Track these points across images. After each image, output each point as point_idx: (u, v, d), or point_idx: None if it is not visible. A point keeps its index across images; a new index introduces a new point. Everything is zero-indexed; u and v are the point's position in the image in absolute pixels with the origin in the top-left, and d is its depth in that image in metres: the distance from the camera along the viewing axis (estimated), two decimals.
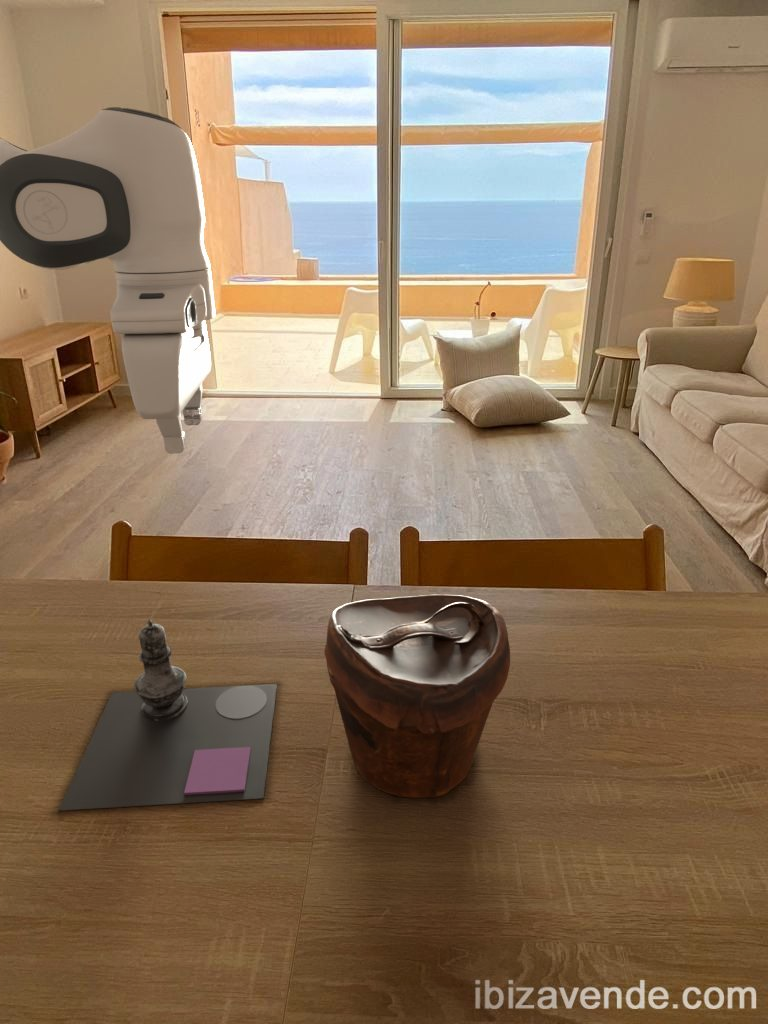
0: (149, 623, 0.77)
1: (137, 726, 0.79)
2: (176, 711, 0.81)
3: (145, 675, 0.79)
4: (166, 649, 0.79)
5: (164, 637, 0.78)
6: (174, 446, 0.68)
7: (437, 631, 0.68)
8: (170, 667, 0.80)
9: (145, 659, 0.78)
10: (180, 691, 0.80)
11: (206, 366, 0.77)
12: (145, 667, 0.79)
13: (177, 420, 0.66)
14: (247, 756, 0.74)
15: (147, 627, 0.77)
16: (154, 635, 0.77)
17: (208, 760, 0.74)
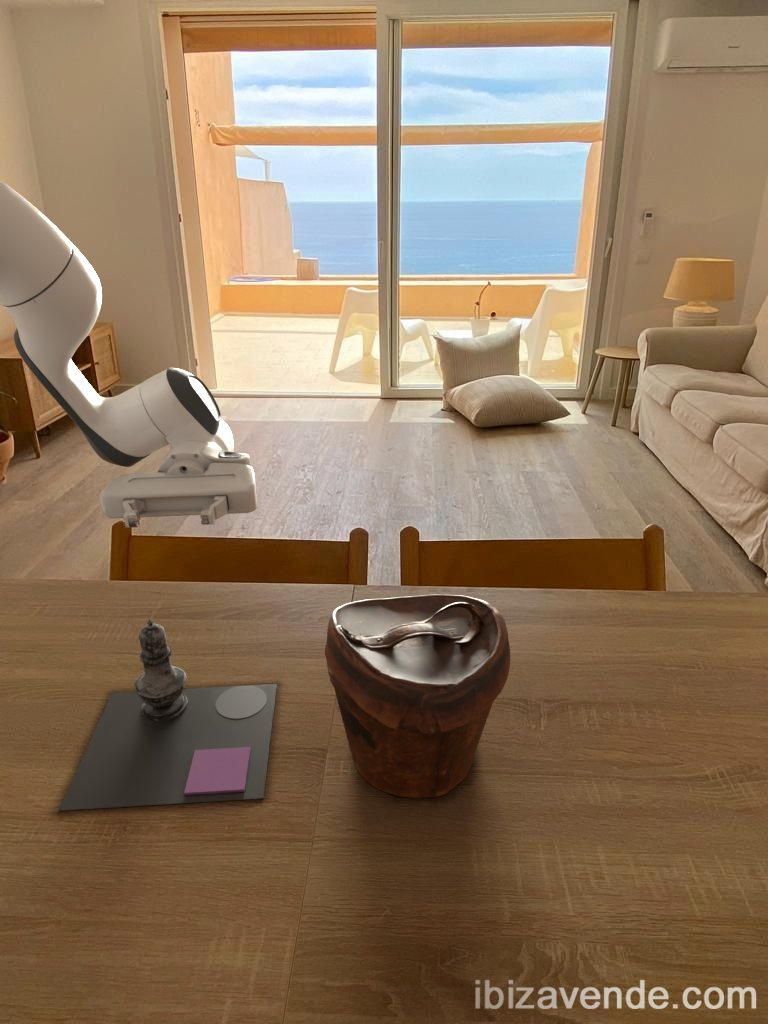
0: (149, 623, 0.77)
1: (137, 726, 0.79)
2: (176, 711, 0.81)
3: (145, 675, 0.79)
4: (166, 649, 0.79)
5: (164, 637, 0.78)
6: (213, 516, 0.87)
7: (438, 631, 0.68)
8: (170, 667, 0.80)
9: (145, 659, 0.78)
10: (180, 691, 0.80)
11: None
12: (145, 667, 0.79)
13: (226, 512, 0.90)
14: (247, 756, 0.74)
15: (147, 627, 0.77)
16: (154, 635, 0.77)
17: (208, 760, 0.74)
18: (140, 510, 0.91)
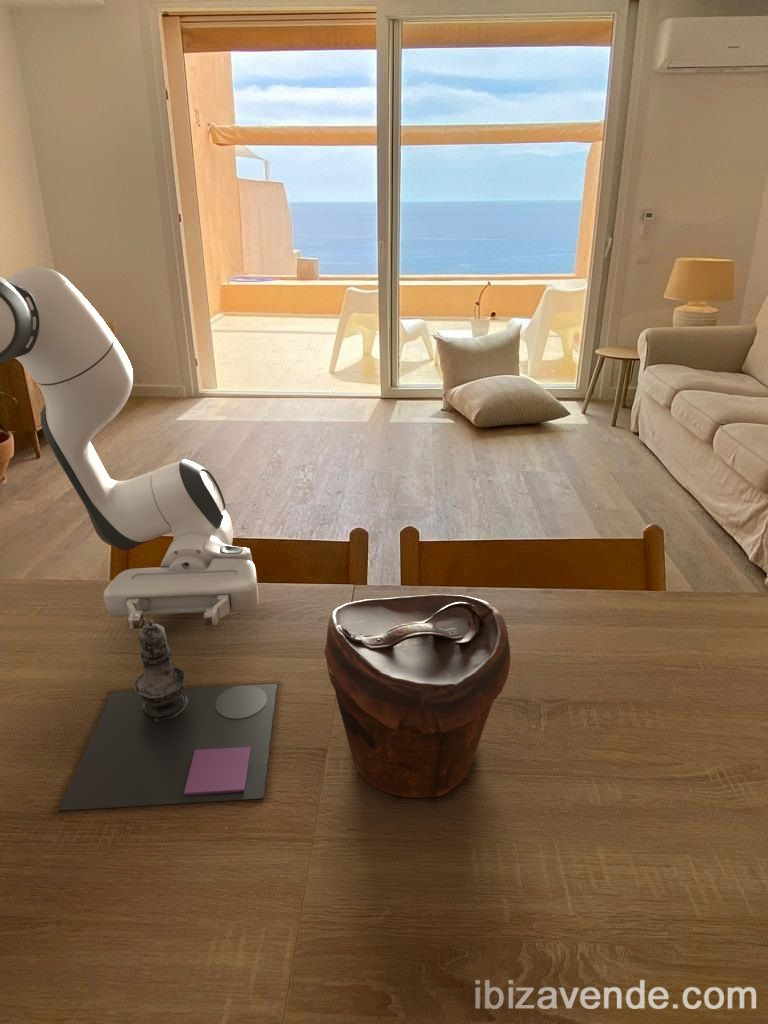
0: (149, 623, 0.77)
1: (137, 726, 0.79)
2: (176, 711, 0.81)
3: (145, 675, 0.79)
4: (166, 649, 0.79)
5: (164, 637, 0.78)
6: (216, 617, 0.89)
7: (438, 631, 0.68)
8: (170, 667, 0.80)
9: (145, 659, 0.78)
10: (180, 691, 0.80)
11: None
12: (145, 667, 0.79)
13: (229, 611, 0.92)
14: (247, 756, 0.74)
15: (147, 627, 0.77)
16: (154, 635, 0.77)
17: (208, 760, 0.74)
18: (143, 608, 0.92)
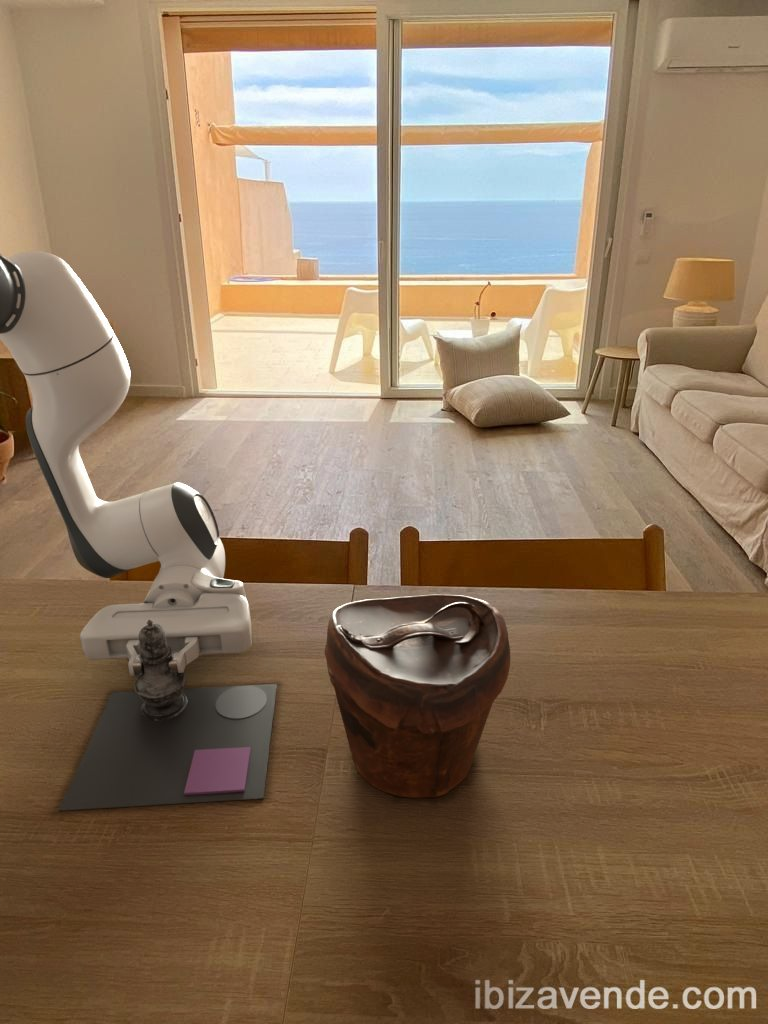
0: (149, 623, 0.77)
1: (137, 726, 0.79)
2: (176, 711, 0.81)
3: (145, 675, 0.79)
4: (166, 649, 0.79)
5: (164, 637, 0.78)
6: (183, 664, 0.80)
7: (438, 631, 0.68)
8: None
9: (145, 659, 0.78)
10: (180, 691, 0.80)
11: None
12: (145, 667, 0.79)
13: (198, 655, 0.83)
14: (247, 756, 0.74)
15: (147, 627, 0.77)
16: (154, 635, 0.77)
17: (208, 760, 0.74)
18: None
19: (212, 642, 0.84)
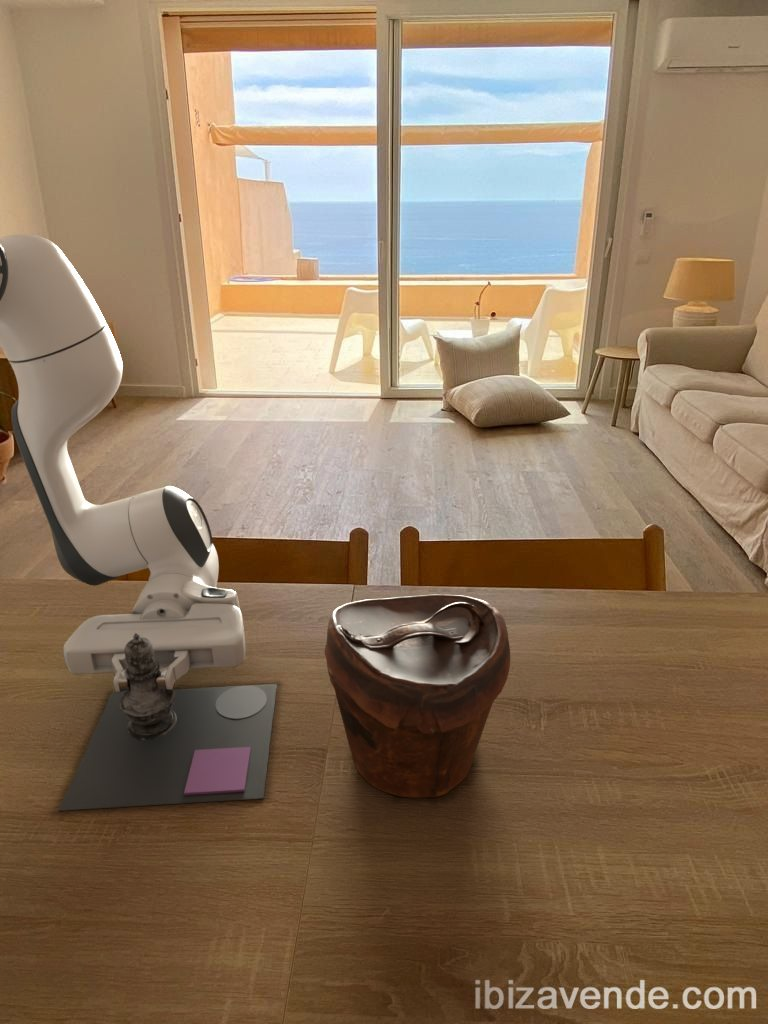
0: (135, 637, 0.72)
1: None
2: (164, 729, 0.76)
3: (131, 692, 0.75)
4: (153, 665, 0.74)
5: (151, 652, 0.73)
6: (172, 680, 0.75)
7: (438, 631, 0.68)
8: None
9: (131, 675, 0.73)
10: (168, 708, 0.76)
11: None
12: (131, 683, 0.74)
13: (188, 670, 0.78)
14: (247, 756, 0.74)
15: (133, 641, 0.73)
16: (140, 650, 0.72)
17: (208, 760, 0.74)
18: None
19: (203, 656, 0.80)
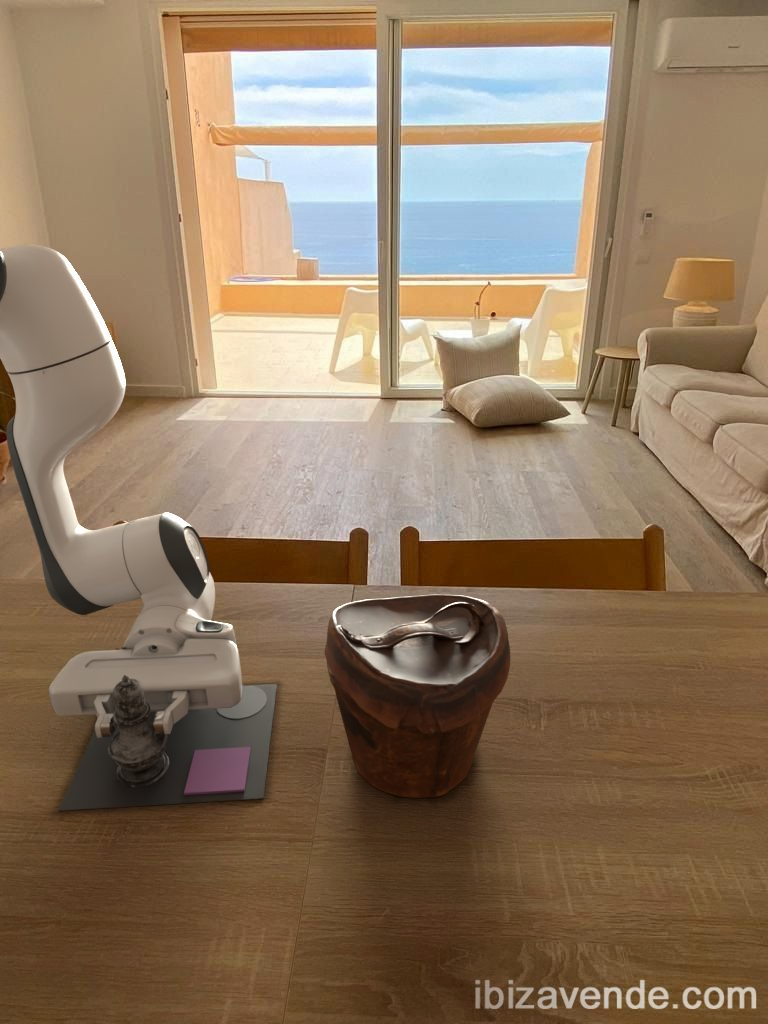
0: (124, 679, 0.68)
1: None
2: (156, 775, 0.72)
3: (120, 736, 0.70)
4: (144, 708, 0.70)
5: (141, 694, 0.69)
6: (170, 724, 0.71)
7: (438, 631, 0.68)
8: (149, 727, 0.71)
9: (120, 719, 0.69)
10: (160, 753, 0.71)
11: None
12: (120, 728, 0.69)
13: (187, 711, 0.74)
14: (247, 756, 0.74)
15: (122, 683, 0.68)
16: (129, 693, 0.68)
17: (208, 760, 0.74)
18: None
19: (197, 696, 0.75)
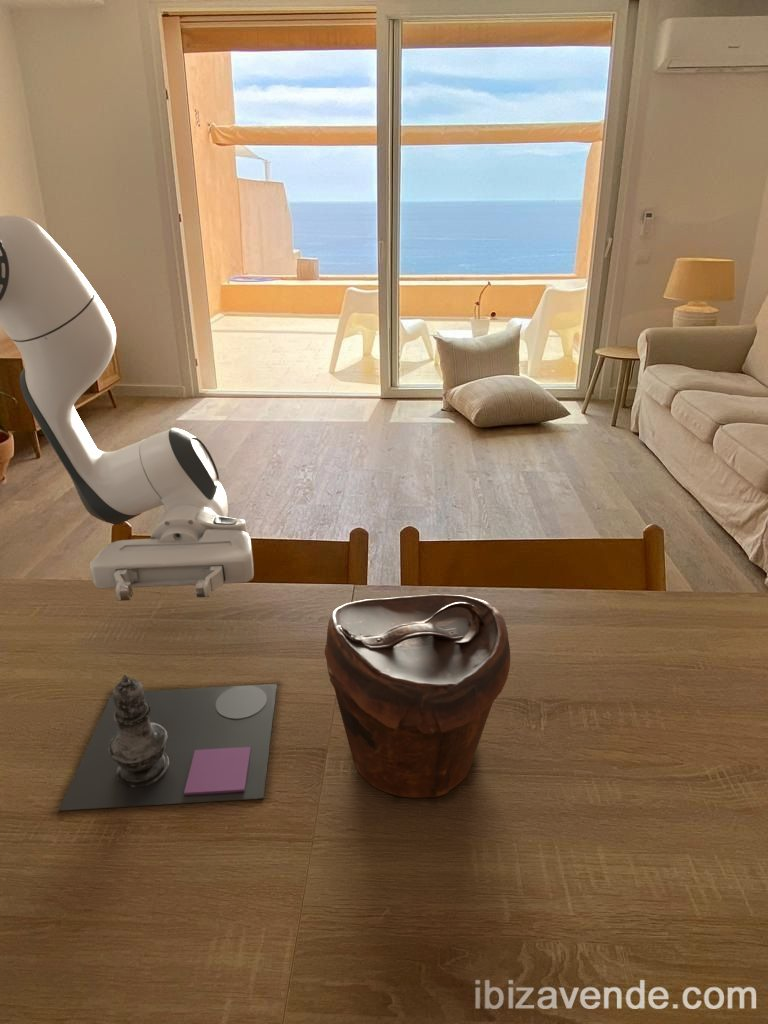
0: (124, 679, 0.68)
1: None
2: (156, 775, 0.72)
3: (120, 736, 0.70)
4: (144, 708, 0.70)
5: (141, 694, 0.69)
6: (209, 589, 0.84)
7: (438, 631, 0.68)
8: (149, 727, 0.71)
9: (120, 719, 0.69)
10: (160, 753, 0.71)
11: None
12: (120, 728, 0.69)
13: (222, 583, 0.87)
14: (247, 756, 0.74)
15: (122, 683, 0.68)
16: (129, 693, 0.68)
17: (208, 760, 0.74)
18: (132, 580, 0.88)
19: None
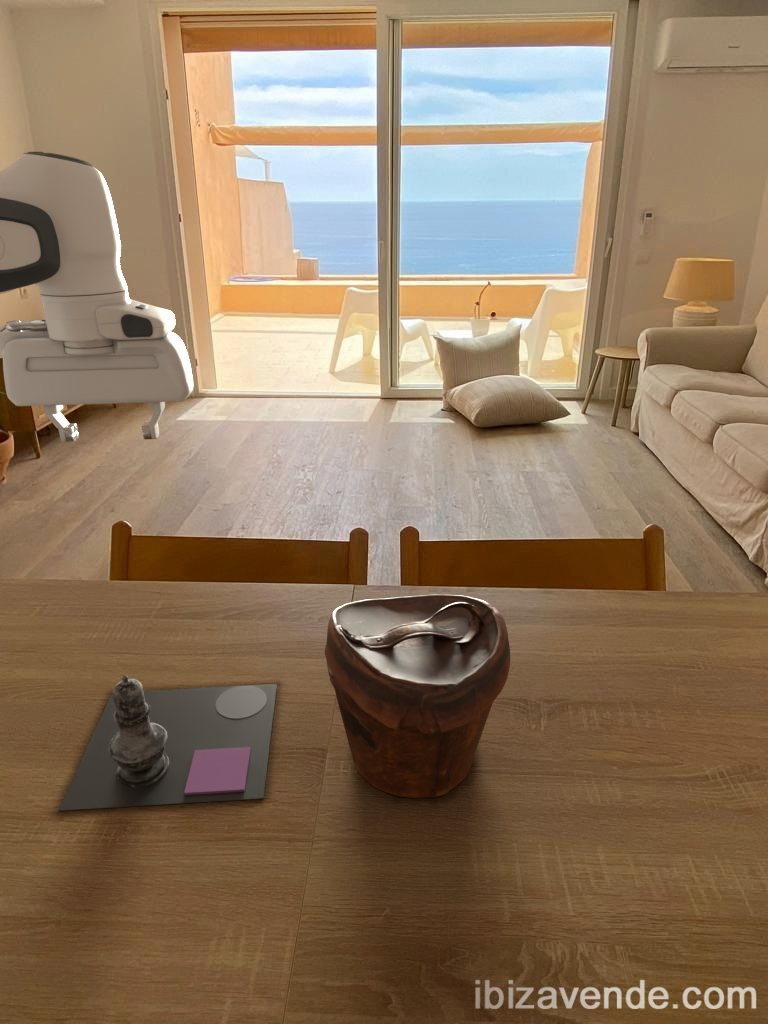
0: (124, 679, 0.68)
1: None
2: (156, 775, 0.72)
3: (120, 736, 0.70)
4: (144, 708, 0.70)
5: (141, 694, 0.69)
6: (157, 431, 0.82)
7: (438, 631, 0.68)
8: (149, 727, 0.71)
9: (120, 719, 0.69)
10: (160, 753, 0.71)
11: None
12: (120, 728, 0.69)
13: (164, 405, 0.82)
14: (247, 756, 0.74)
15: (122, 683, 0.68)
16: (129, 693, 0.68)
17: (208, 760, 0.74)
18: None
19: None
